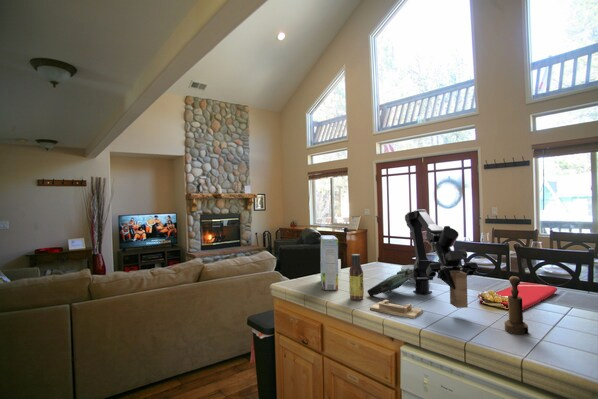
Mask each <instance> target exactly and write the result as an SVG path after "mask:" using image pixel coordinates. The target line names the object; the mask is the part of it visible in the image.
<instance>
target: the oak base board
mask: <svg viewBox="0 0 598 399" xmlns="http://www.w3.org/2000/svg"><path fill="white" fill-rule="evenodd" d="M412 305H413V304H412V303H406V304H405V305H402V304H396V303H392V302H390V300H389V299H383V300H382V301H378V302H377V303H375V304H373V305H372V306H370V307H369V310H370V311H374V312H380V313H385V314H390V315H393V316H394V315H395V316H400V317H404V318H410V319H416V318H417V317H418V316H420V315H421V314H422V313H423V311H424V310H423V308H420V307H419V308H418V307H413V306H412Z"/></svg>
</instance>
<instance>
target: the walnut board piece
mask: <svg viewBox="0 0 598 399" xmlns="http://www.w3.org/2000/svg"><path fill="white" fill-rule="evenodd" d="M449 273H450V276H451V278H452V281H453V283H454V285H455V290H453V289H452V288H451V287H450V286H449V299H450V300H449V302H450V303H449V304H450V305H451V306H453V307H455V308H457V309H459V308H460V309H463V308H465V309H466V308H468V307H469V306H468V305H469V304H468V303H469V302H468V276H467V273H464V272H462V271H449Z"/></svg>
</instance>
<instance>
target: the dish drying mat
mask: <svg viewBox="0 0 598 399" xmlns="http://www.w3.org/2000/svg"><path fill="white" fill-rule="evenodd" d="M511 289H512V286H509V287H507V288H504V289H501V290H499V291H496V292H495V293H496V294H498V295H501V296H512V293H511ZM517 289H518V290H519V293H518V296H519V297H522V310H523V311H524V309H525V310H526V308H527V309H529V308H531V307H532V305H533V306H535V305H537V304H539V303H540V302H542V301H543V299H544V300H546V299H547V298H549V297H551V296H552V295H553V294H555V293H556V292H557V291H558V288H557V287H555V286H553V285H546V284H540V283H533V282H520V283H519V285H518V286H517ZM541 300H542V301H541ZM478 301H479V304H480V303H482V302H483V301H482V299H480V300H478ZM500 303H501V304H503V305H504V306H506V308H508V302H500ZM536 303H537V304H536ZM534 304H535V305H534ZM530 306H531V307H530ZM528 307H529V308H528Z"/></svg>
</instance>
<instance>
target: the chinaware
mask: <svg viewBox="0 0 598 399" xmlns="http://www.w3.org/2000/svg"><path fill="white" fill-rule="evenodd" d="M408 268H409V269H414V264H406V265H402V266H400V271H401V270H405V269H408ZM412 271H413V270H412ZM408 282H409V283H411V284H415V283H416V282H415V280H413V279H412V278H410V279H409V280H408Z"/></svg>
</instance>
